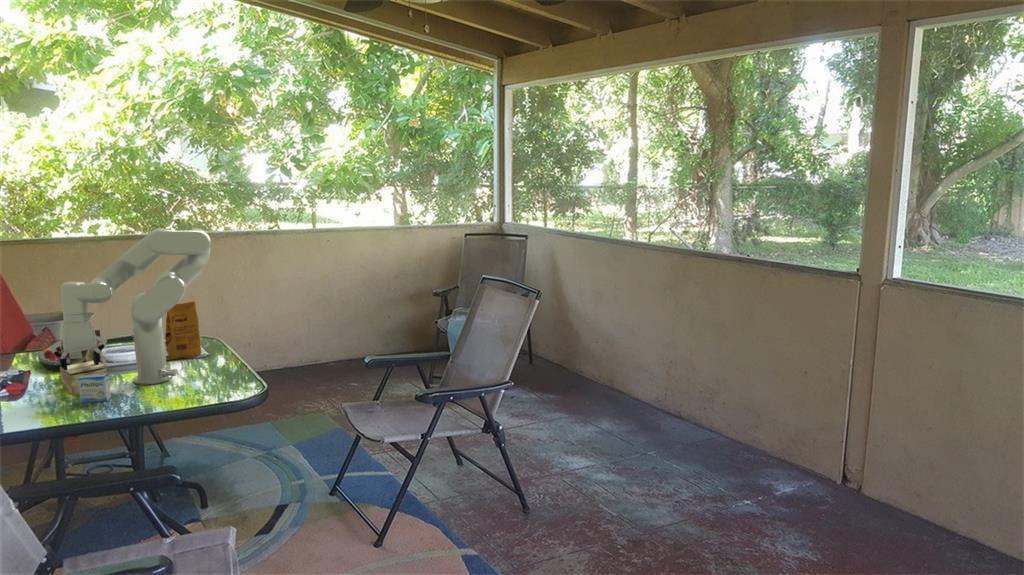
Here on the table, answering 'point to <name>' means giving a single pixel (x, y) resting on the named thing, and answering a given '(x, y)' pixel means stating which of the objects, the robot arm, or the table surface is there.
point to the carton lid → (83, 367)
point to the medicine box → (94, 388)
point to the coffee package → (182, 331)
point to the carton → (76, 380)
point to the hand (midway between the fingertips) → (80, 366)
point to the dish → (51, 359)
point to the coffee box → (85, 354)
